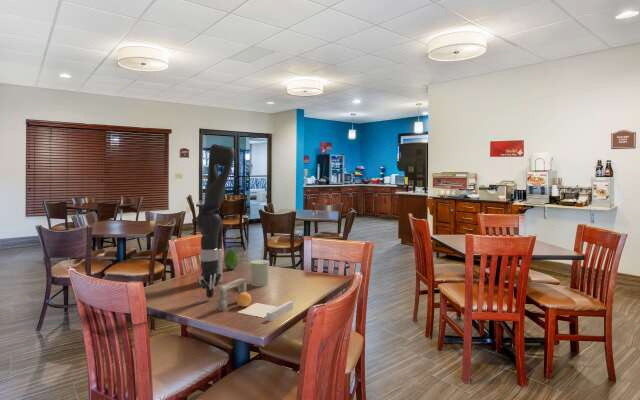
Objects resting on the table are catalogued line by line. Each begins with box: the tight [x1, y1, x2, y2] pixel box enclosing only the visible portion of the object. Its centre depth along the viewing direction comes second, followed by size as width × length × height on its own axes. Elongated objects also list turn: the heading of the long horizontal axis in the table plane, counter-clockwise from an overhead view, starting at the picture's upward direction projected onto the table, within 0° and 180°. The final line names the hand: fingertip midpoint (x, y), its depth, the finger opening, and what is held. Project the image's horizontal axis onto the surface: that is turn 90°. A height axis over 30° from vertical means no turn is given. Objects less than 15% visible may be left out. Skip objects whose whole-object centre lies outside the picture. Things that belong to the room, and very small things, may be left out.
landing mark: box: [236, 302, 277, 319], centre depth 161 cm, size 13×13×1 cm
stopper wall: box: [266, 300, 294, 322], centre depth 156 cm, size 2×16×3 cm, turn 153°
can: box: [250, 259, 270, 287], centre depth 199 cm, size 9×9×12 cm
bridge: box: [217, 277, 248, 312], centre depth 167 cm, size 3×15×10 cm, turn 153°
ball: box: [236, 292, 252, 308], centre depth 165 cm, size 6×6×6 cm
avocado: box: [223, 248, 239, 270], centre depth 231 cm, size 8×8×12 cm
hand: (209, 297), depth 173 cm, fingers closed
